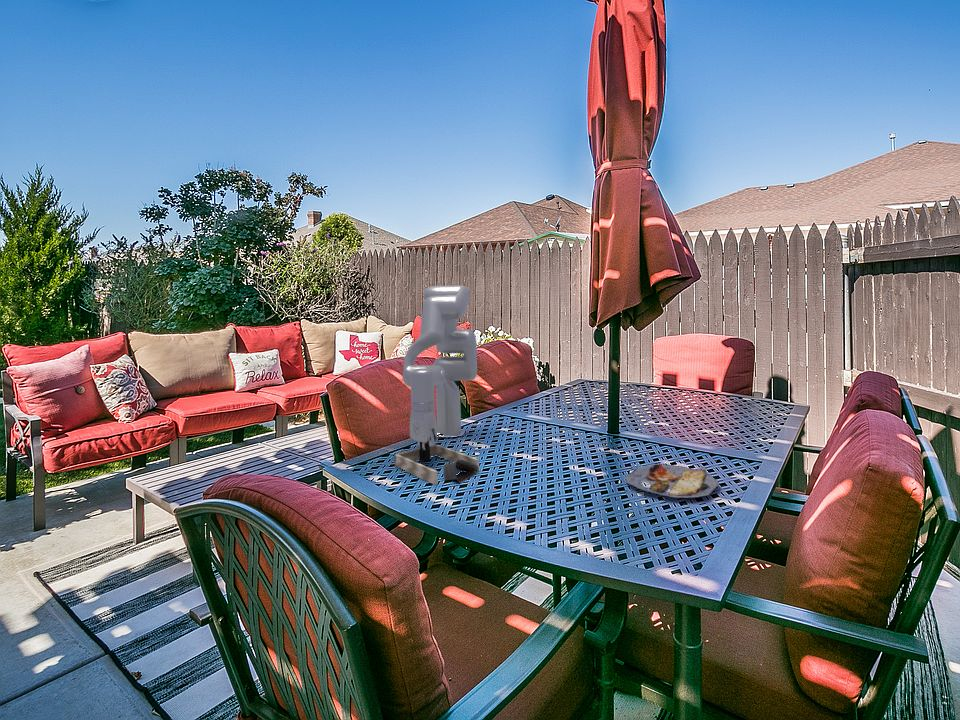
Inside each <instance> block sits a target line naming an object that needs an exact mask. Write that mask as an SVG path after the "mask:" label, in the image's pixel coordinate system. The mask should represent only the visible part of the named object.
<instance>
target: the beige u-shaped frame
mask: <svg viewBox="0 0 960 720" xmlns="http://www.w3.org/2000/svg"><path fill="white" fill-rule="evenodd" d="M435 455H437V456H440V457H442V458H444V459H446V460H449V461H451V462H450V463H452V462H454V463H455V462H456V460H455V459H457V458H458V459H460V460H464V461H466V462H470V463H472V464H476V465H477V466H478V469H479V470H480V460H479V459H480V458H477V457H474V456H470V455H468V454H465V453H463V452H460V451H457V450H454V449H452V448H448V447H445V446H442V445H440V444H436V443H435V446H431V449H430V457H431V456H435ZM393 458H394V459H393V460H394V467H395V466H397V467H399V468H401V469H400V470H402V469H403V470H402V471H404V470H405V471H404V472H406V471H407V473H408V472H409V473H408V474H410V473H411V475H412V474H413V475H412V476H414V477H416V478H419V479H421V480H423V481H425V482H428V483H430V484H432V485H436V486H437V485H439V484H438V483H439V480H438V479H439V477H438V470H436V469H434V468H431V467H429V466H426V465H424V464H421V463H419V462H415V461H416V460H420V457H419V448H416V449H412V450H406V451H403V452H399V453H395V454H394V455H393ZM444 459H443V460H444ZM446 460H445V461H446ZM449 461H448V462H449ZM397 467H396V468H397ZM399 468H398V469H399Z"/></svg>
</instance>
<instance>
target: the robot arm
mask: <svg viewBox="0 0 960 720" xmlns="http://www.w3.org/2000/svg"><path fill="white" fill-rule="evenodd" d="M423 299H424V301H423V304H422V313H421V323H420V330H419V331H420V332H419V336H418V337H417V338H416V340H414V342H412V343H411V345H410V346H409V348H408V349H407V351H406V353H405V355H404V360H403V368H402V380H403V383H404V385H405V386H407V387H409V388H410V399H411V403H410V404H411V405H410V406H411V409H410V415H409V416H410V417H409V437H410V439H412V440H414V441H415V442H416V443H417V449H419V457H420V461H419V462H421V463H425V462H428V461H431V458H430V449H431V446H435V445H436V442H435V441H437V439H438V437H437V431H438V433H440V434H443V435H444V436H458V435H461V434H463V433H465V434H466V431H465V430H464V429H463V430H462V431H461V429H462V420H461V415H462V414H461V391H460V389H459V386H458V385H457V384H456V381H458V382H459V381H461V382H462V381H474V380H475V379H476V378H477V376H478V356H477V352H478V351H477V338H476V334H475V332H474V331H473V330H472V329H468V328H458V326H457V320H460V319H462V317H464V314H465V312H466V310H467V308H468V305H469V304H470V299H471V296H470V291H469V288H468V287H467V286H465V285H462V284H461V285H432V286H428V287H426V288H425V289H424V291H423ZM432 347H435V348H436V351H437V352H439V353H441V354H462V355H464V356H439V357H437V358H436V359H435V360H434V361H433V364H415V362H416V359H417V357H418V356H419V355H420V354H421V353H423V352H424V351H426V350H428V349H430V348H432ZM435 395H436V397H435ZM435 398H436V401H435ZM435 402H436V412H435ZM443 435H441V436H443Z"/></svg>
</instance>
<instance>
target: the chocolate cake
mask: <svg viewBox="0 0 960 720" xmlns="http://www.w3.org/2000/svg"><path fill="white" fill-rule="evenodd" d="M455 460H456V462H455V463H452V462H449V463H444V464H443V479H444V481H453V480H455V481H456V480H457V482H458V483H460V484H462V483H464V482H466V481H467V480H469V479H470V478H472V477H473V476H474V475H473V474H475V473H478V474H479V472H480V468H479V469H478V466H477V465H476V464H472V463H470V462H466V461H464V460H460V459H458V458H457V459H455ZM461 471H466V472H461ZM459 472H461V473H459ZM458 473H459V474H458ZM456 474H458V475H456ZM475 475H476V474H475ZM465 480H466V481H465Z"/></svg>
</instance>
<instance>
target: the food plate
mask: <svg viewBox="0 0 960 720" xmlns="http://www.w3.org/2000/svg"><path fill="white" fill-rule="evenodd" d="M624 478H625V481H626V483H627V484H629V485H631V486H633V487H635V488H637V489H640V490H642V491H644V492H648V493H649V492H650V493H652V494H655V495H658V496H660V495H661V496H667V497H671V498H678V499H683V500H684V499H688V498H699V497H706V496H709V495H710V494H711V493H712V492H714V490H715V489H716V488H717V487H718V486H719V485H720V484H719V481H718V480H717V479H716V478H714V477H713V476H711V475H710V474H708V473H707V471H706V469H694V468H690V467H686V466H682V465H673V464H661V463H659V464H658V463H656V464H651V465H643V466H641V467H637V468H635V469H633V470H632V471H631V472H629V473H628V474H627V475H626V476H625V477H624ZM645 483H646V484H645ZM644 484H645V485H644ZM645 486H649V488H646V487H645ZM665 491H668V494H667V493H664V492H665Z"/></svg>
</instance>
